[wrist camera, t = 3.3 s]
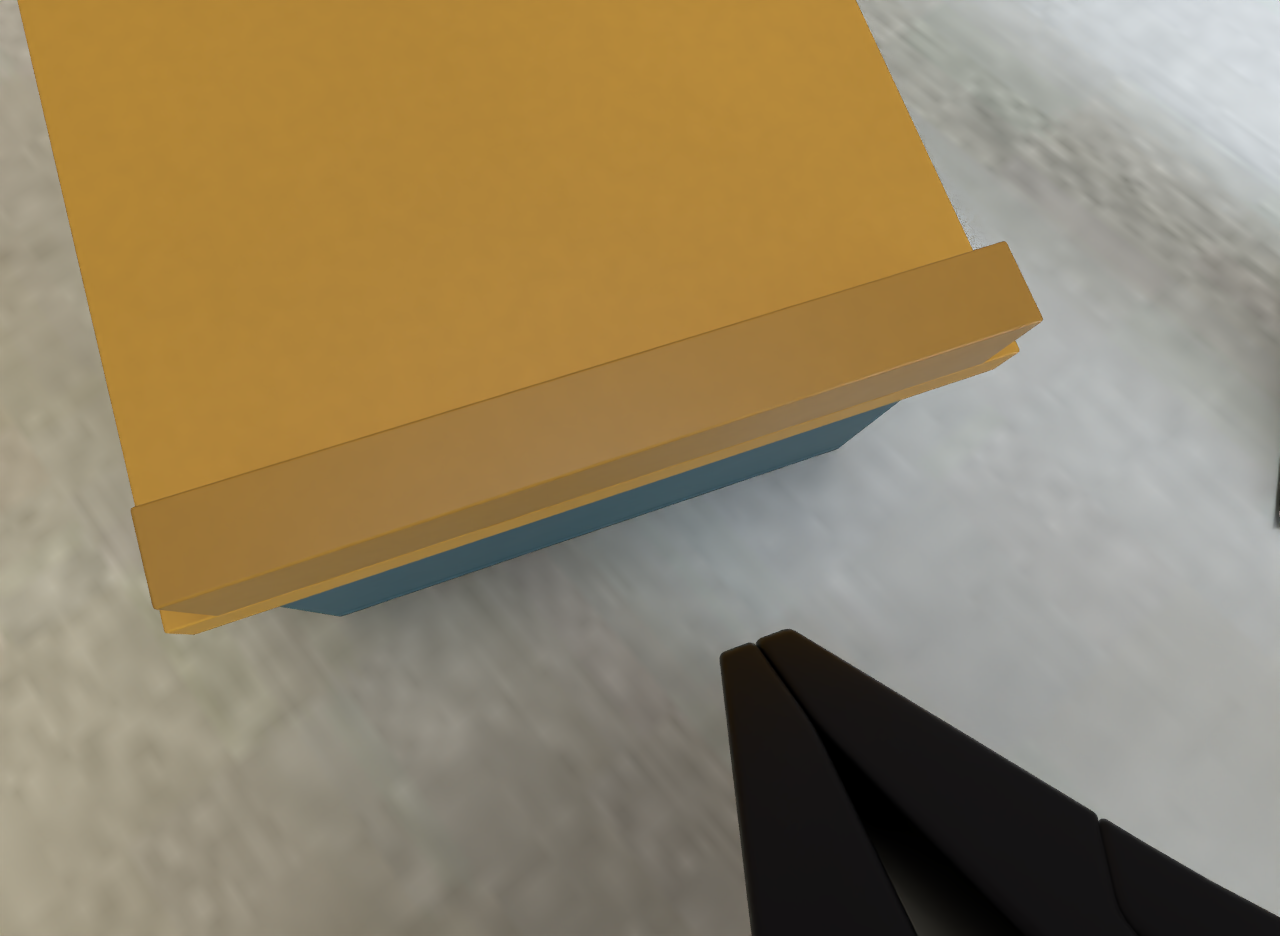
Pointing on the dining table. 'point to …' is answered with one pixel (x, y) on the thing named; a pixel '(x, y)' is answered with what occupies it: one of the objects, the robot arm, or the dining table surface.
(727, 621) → the dining table surface
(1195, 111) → the dining table surface
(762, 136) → the bin lid
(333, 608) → the storage bin
